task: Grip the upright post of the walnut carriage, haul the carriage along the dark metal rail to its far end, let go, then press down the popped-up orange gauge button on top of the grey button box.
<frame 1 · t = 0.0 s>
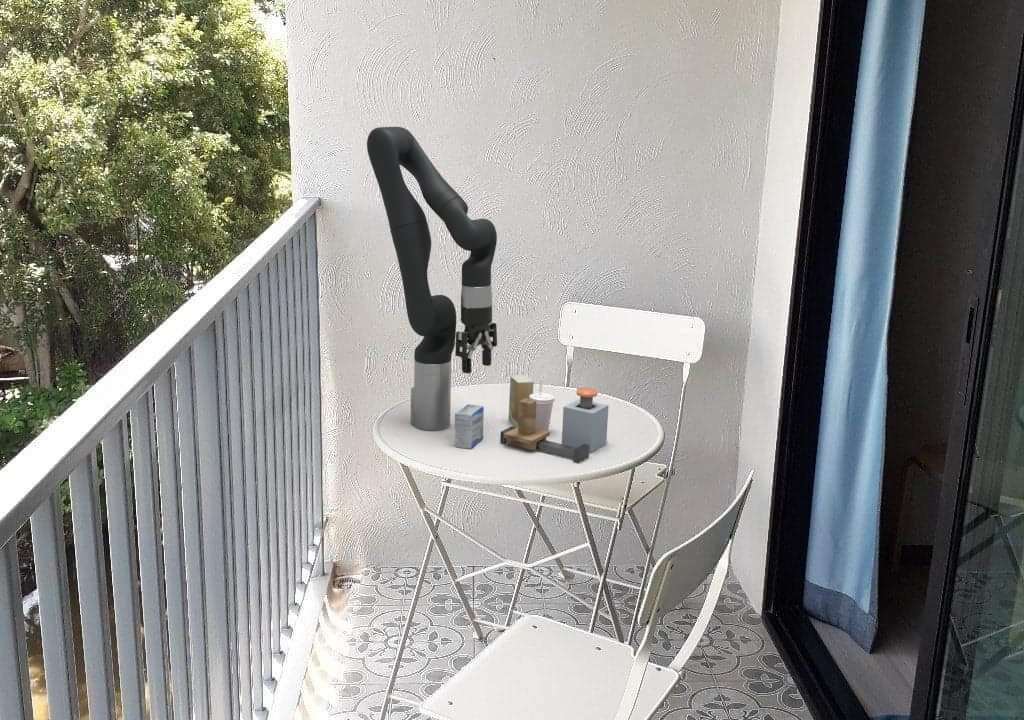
hand: (476, 369, 244), 17 cm above the table, tool pointing down, fingers open, 8 cm apart
medicine box: (468, 444, 243), on the table
rail: (543, 450, 240), on the table
carriage: (527, 422, 241), point 6 cm above the table, slide at 0.0 cm
skincare box: (519, 424, 258), on the table
smoothie: (540, 433, 252), on the table
grey button box: (584, 445, 244), on the table
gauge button: (586, 404, 242), point 10 cm above the table, slide at 0.0 cm
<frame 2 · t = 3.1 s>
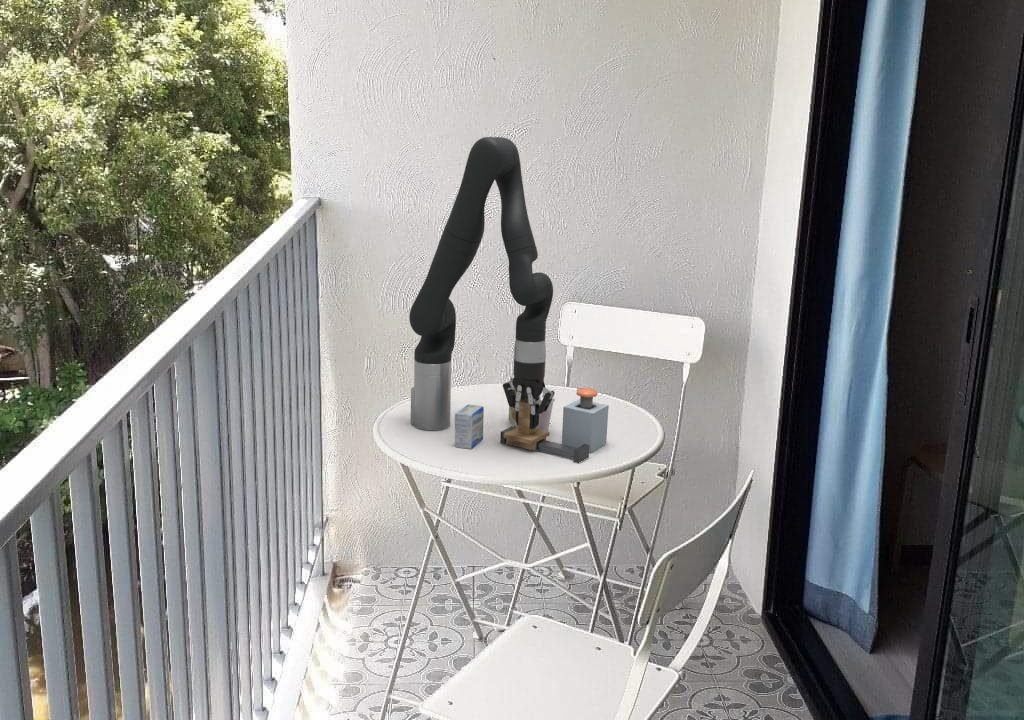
hand: (527, 426, 241), 5 cm above the table, tool pointing down, fingers closed on carriage, 3 cm apart
carriage: (527, 422, 241), point 6 cm above the table, slide at 0.0 cm, touching gripper
everything else where it was.
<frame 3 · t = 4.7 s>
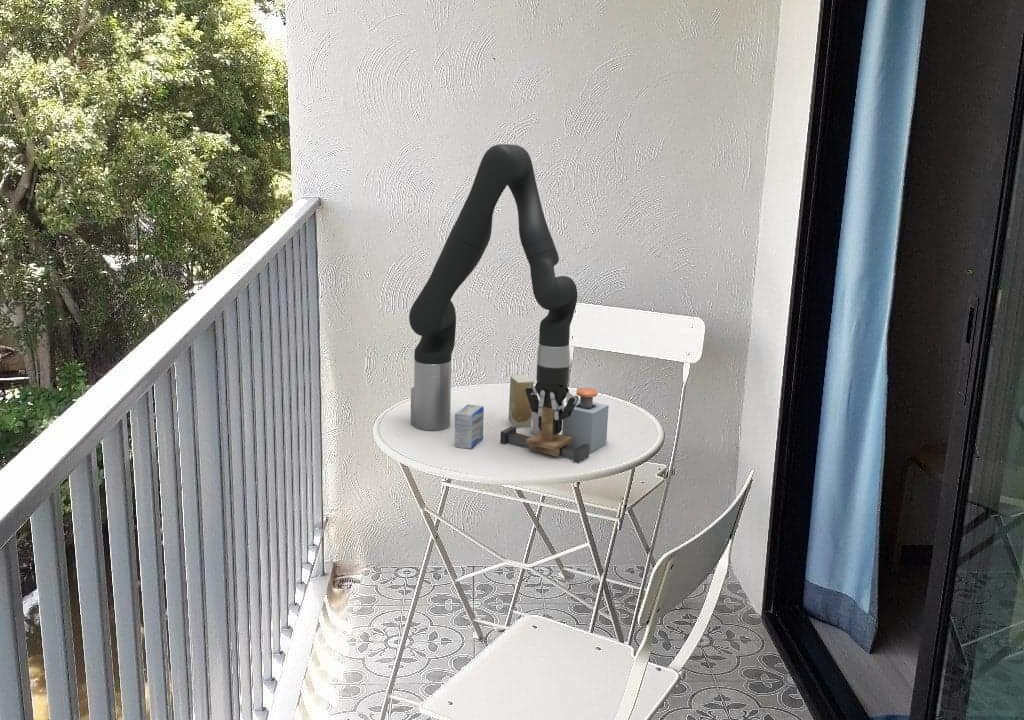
hand: (549, 431, 238), 5 cm above the table, tool pointing down, fingers closed on carriage, 3 cm apart
carriage: (549, 428, 238), point 6 cm above the table, slide at 6.4 cm, touching gripper
everything else where it was.
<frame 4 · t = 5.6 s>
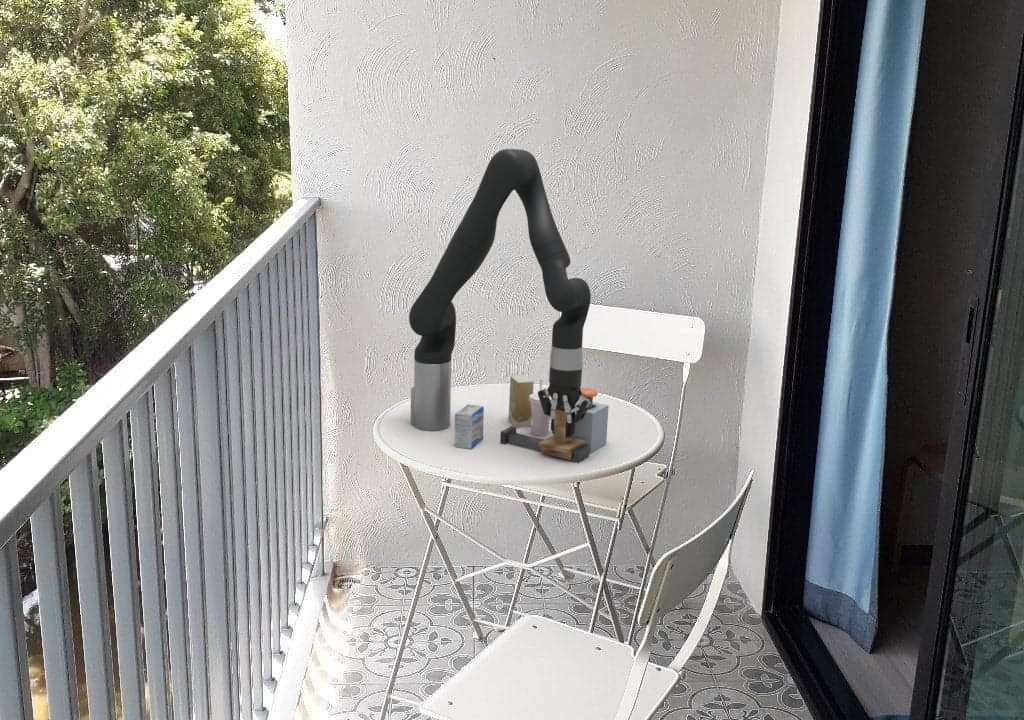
hand: (562, 434, 236), 5 cm above the table, tool pointing down, fingers closed on carriage, 3 cm apart
carriage: (562, 431, 236), point 6 cm above the table, slide at 9.9 cm, touching gripper
everything else where it was.
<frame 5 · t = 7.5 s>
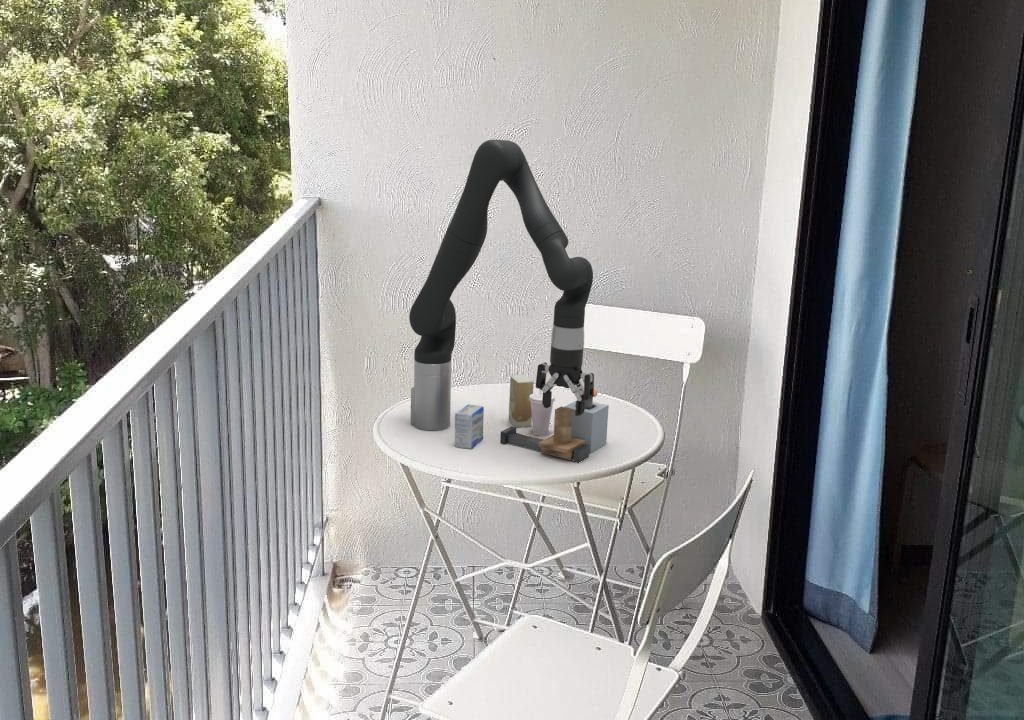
hand: (562, 411, 235), 11 cm above the table, tool pointing down, fingers open, 8 cm apart
carriage: (562, 431, 236), point 6 cm above the table, slide at 9.9 cm
everything else where it was.
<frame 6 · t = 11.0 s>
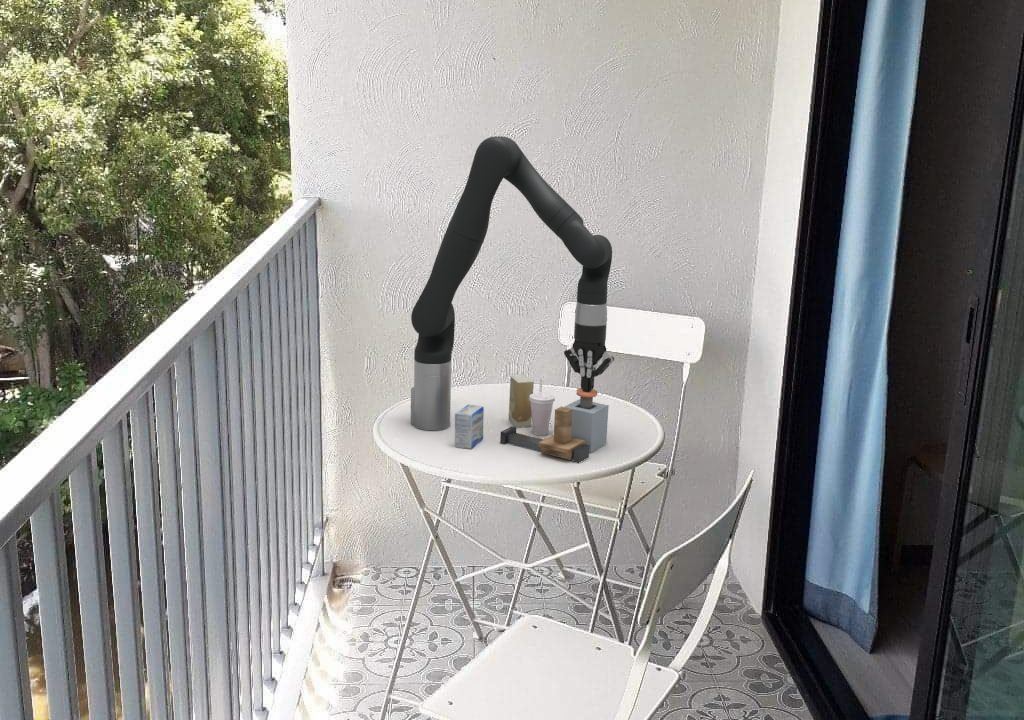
hand: (587, 391, 241), 14 cm above the table, tool pointing down, fingers closed
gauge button: (586, 404, 242), point 10 cm above the table, slide at 0.0 cm, touching gripper
everything else where it was.
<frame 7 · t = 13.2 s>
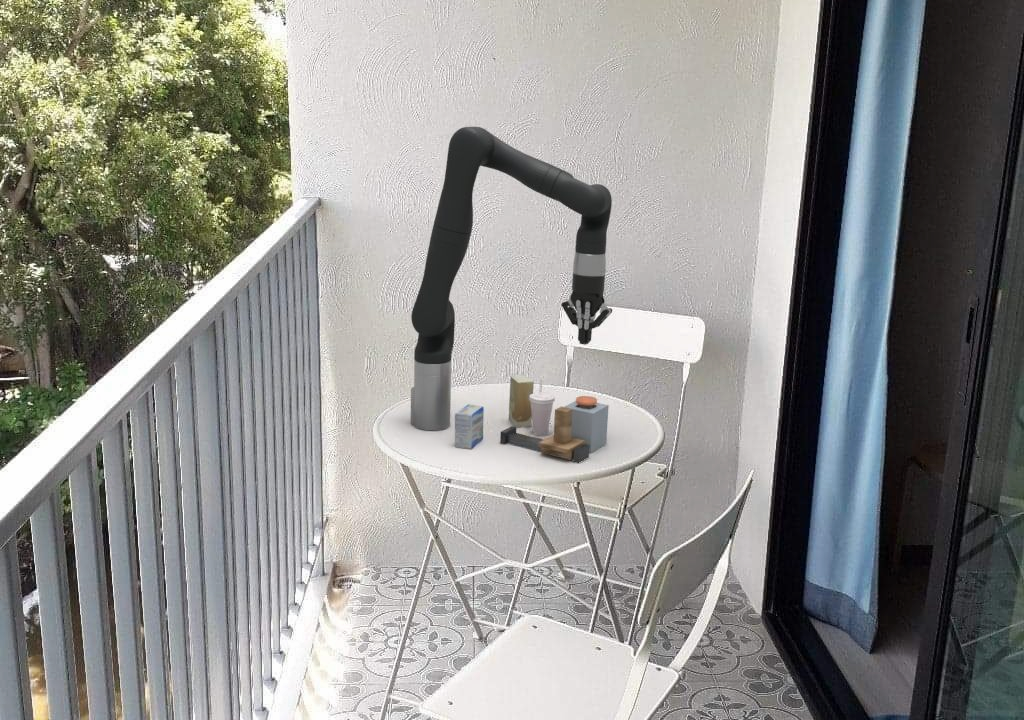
hand: (584, 343, 238), 25 cm above the table, tool pointing down, fingers closed
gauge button: (585, 412, 242), point 8 cm above the table, slide at 2.0 cm
everything else where it was.
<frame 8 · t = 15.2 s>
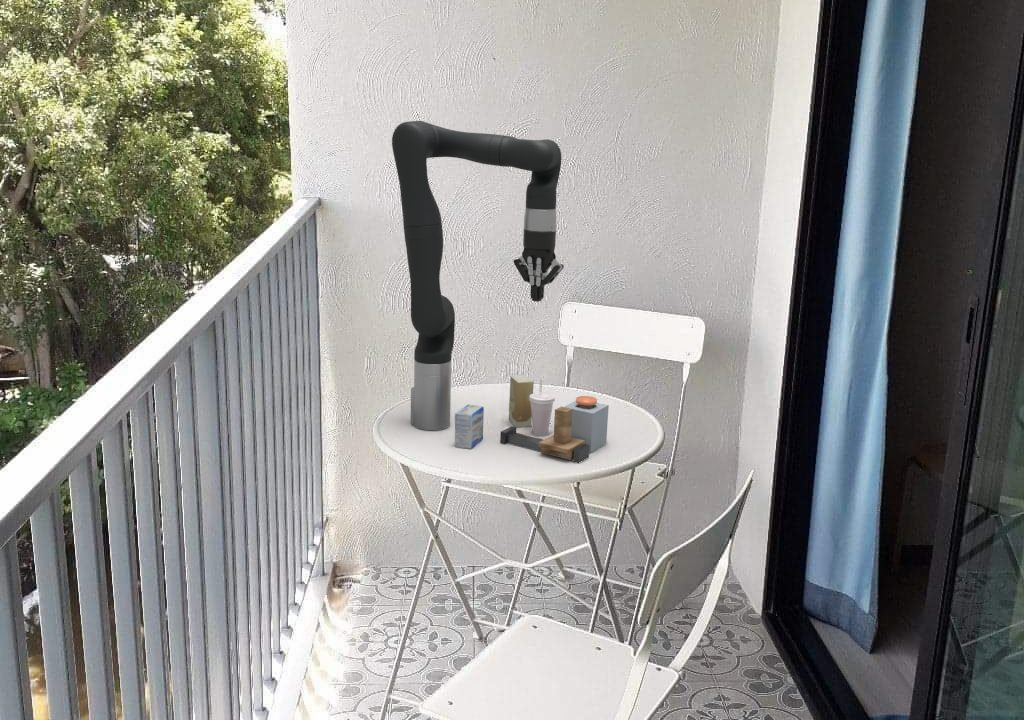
hand: (536, 300, 237), 35 cm above the table, tool pointing down, fingers closed
nothing on the table moved.
at the end: carriage slide at 9.9 cm; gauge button slide at 2.0 cm; the gripper is holding nothing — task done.
